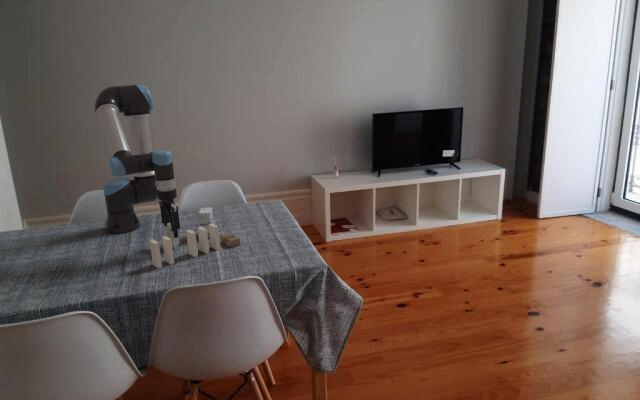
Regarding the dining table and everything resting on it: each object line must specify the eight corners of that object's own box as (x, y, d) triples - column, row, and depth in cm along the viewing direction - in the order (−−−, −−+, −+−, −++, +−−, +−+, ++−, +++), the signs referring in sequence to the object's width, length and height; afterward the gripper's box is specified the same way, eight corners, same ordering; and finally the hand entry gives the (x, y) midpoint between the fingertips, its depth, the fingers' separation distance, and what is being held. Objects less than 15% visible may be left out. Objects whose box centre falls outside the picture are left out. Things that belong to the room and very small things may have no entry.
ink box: (212, 238, 218) (209, 212, 215) (201, 239, 218) (198, 213, 214) (214, 231, 226) (212, 206, 223) (203, 232, 226) (200, 207, 223)
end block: (220, 242, 214) (220, 235, 213) (229, 239, 216) (228, 233, 215) (231, 247, 207) (231, 240, 206) (240, 245, 209) (239, 238, 208)
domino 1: (158, 268, 190) (154, 243, 187) (152, 264, 193) (149, 240, 191) (162, 267, 191) (158, 242, 188) (156, 263, 194) (153, 239, 192)
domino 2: (174, 249, 208) (171, 226, 205) (169, 245, 212) (166, 223, 209) (178, 248, 209) (175, 225, 206) (173, 244, 213) (170, 222, 210)
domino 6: (216, 250, 205) (214, 227, 202) (211, 247, 209) (208, 224, 206) (220, 249, 206) (218, 226, 203) (214, 246, 210) (212, 223, 207)
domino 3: (170, 264, 193) (167, 240, 190) (165, 260, 196) (161, 236, 194) (174, 263, 194) (171, 239, 191) (169, 259, 197) (165, 235, 195)
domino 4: (194, 257, 199) (191, 233, 196) (188, 253, 203) (186, 230, 200) (198, 256, 200) (195, 232, 197) (192, 252, 204) (189, 229, 201)
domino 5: (205, 253, 202) (203, 230, 199) (200, 250, 206) (197, 227, 203) (209, 252, 203) (206, 229, 200) (203, 249, 207) (201, 226, 204)
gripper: (148, 186, 207) (156, 239, 214) (166, 195, 194) (174, 250, 201) (165, 183, 212) (172, 234, 219) (184, 191, 199) (191, 245, 205)
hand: (173, 242), depth 210 cm, fingers closed on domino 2, 5 cm apart
